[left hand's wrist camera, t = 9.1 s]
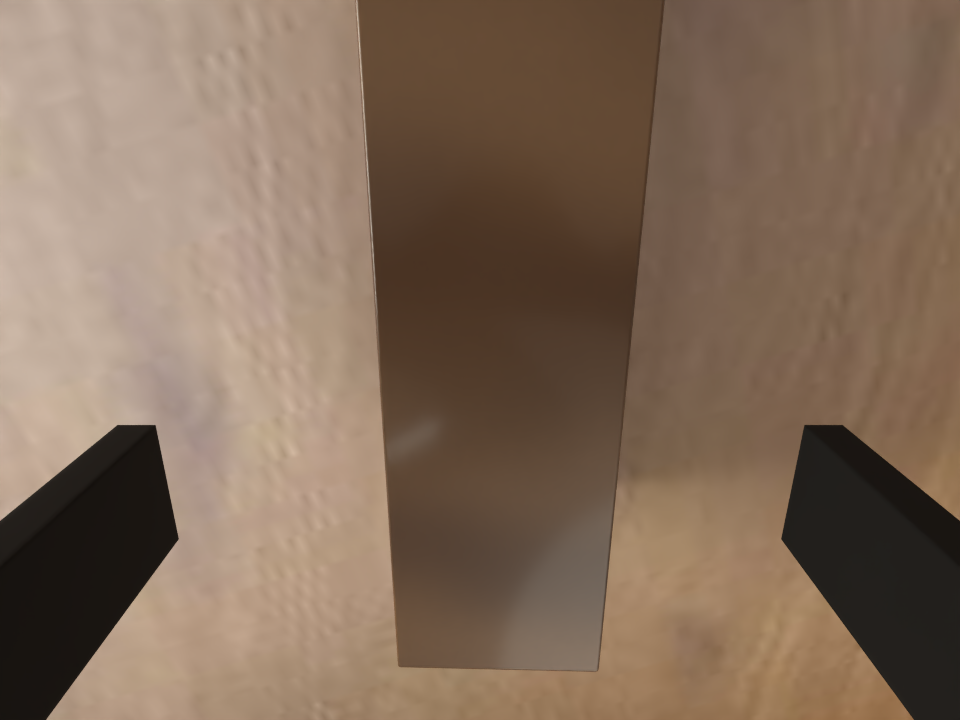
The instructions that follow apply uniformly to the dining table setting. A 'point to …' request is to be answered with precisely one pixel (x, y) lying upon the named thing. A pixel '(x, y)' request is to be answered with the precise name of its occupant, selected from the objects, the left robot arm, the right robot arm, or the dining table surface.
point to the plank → (504, 310)
